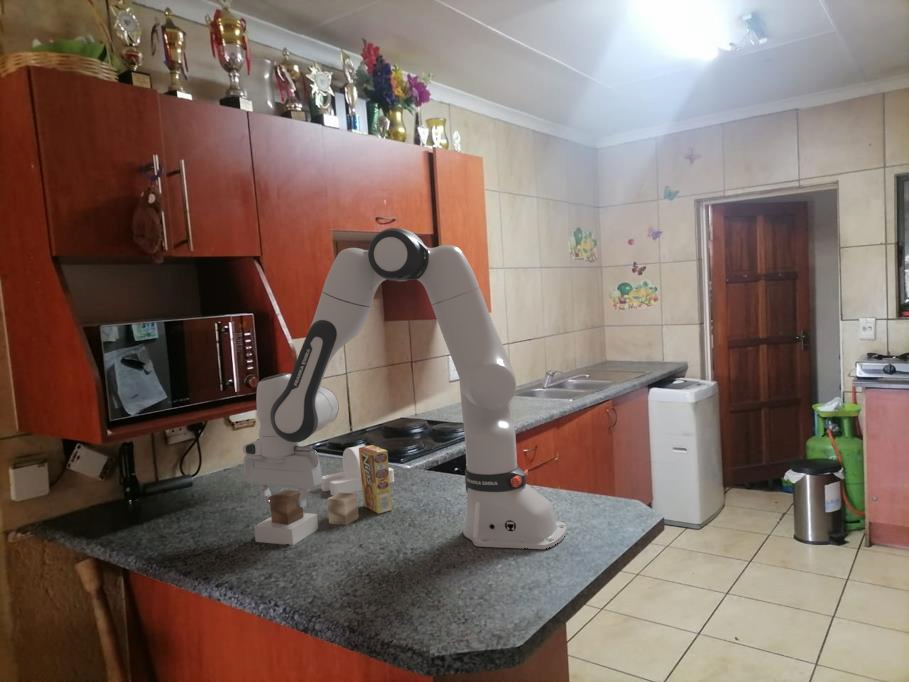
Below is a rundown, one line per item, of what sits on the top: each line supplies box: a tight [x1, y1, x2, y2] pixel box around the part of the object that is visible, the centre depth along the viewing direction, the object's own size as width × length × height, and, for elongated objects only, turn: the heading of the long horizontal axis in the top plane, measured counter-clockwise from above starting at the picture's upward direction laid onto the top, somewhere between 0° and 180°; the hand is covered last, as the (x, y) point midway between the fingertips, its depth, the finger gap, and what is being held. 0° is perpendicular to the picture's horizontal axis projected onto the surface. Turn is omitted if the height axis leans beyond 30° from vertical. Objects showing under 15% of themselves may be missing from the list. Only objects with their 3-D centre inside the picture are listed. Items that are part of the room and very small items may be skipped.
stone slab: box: [253, 512, 319, 546], centre depth 148 cm, size 10×10×4 cm
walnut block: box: [269, 489, 304, 525], centre depth 148 cm, size 5×5×6 cm
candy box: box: [359, 444, 393, 514], centre depth 163 cm, size 9×4×15 cm, turn 33°
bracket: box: [320, 445, 395, 496], centre depth 185 cm, size 19×10×11 cm, turn 126°
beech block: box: [326, 493, 359, 526], centre depth 156 cm, size 5×5×6 cm
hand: (285, 504), depth 148 cm, fingers open, 8 cm apart
